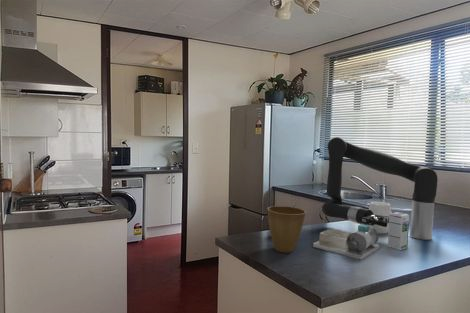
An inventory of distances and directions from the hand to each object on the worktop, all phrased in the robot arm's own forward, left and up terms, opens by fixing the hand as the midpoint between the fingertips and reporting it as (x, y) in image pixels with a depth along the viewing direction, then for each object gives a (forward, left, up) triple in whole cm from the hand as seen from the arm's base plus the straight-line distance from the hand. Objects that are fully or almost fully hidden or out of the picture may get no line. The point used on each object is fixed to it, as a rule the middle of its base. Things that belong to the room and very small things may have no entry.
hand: (392, 223), depth 148 cm
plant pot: (+40, -28, -10) cm, 50 cm away
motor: (+18, -12, -10) cm, 24 cm away
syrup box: (+1, +3, -10) cm, 10 cm away
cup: (-21, -12, -10) cm, 26 cm away
